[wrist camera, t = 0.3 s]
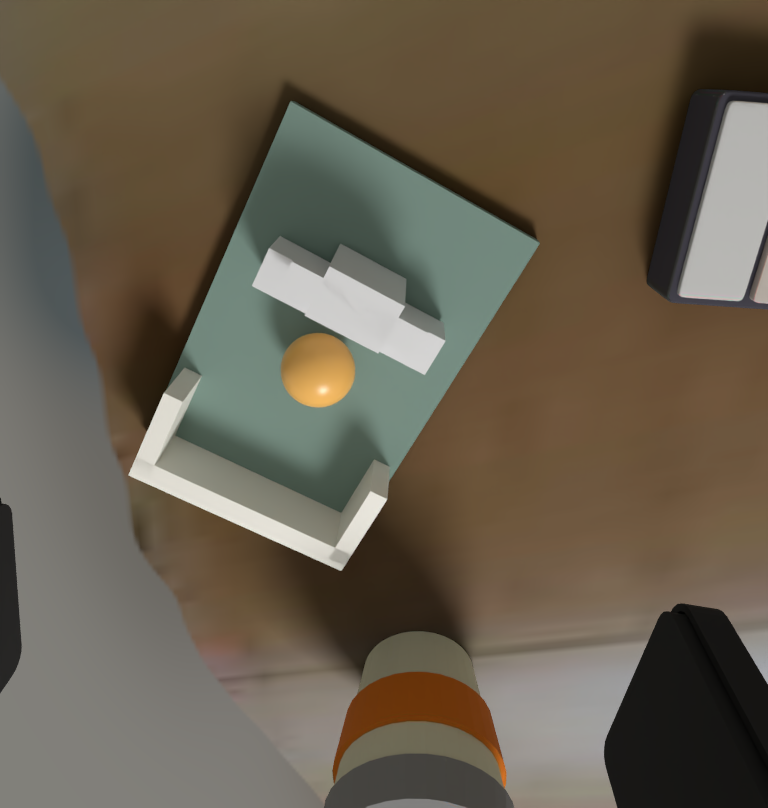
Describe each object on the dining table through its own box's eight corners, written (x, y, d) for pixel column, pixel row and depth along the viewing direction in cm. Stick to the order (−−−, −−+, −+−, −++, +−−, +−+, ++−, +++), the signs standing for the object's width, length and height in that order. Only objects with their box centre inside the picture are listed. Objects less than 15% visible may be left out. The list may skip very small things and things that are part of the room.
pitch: (293, 100, 38) (290, 101, 37) (537, 239, 40) (539, 243, 40) (149, 434, 47) (144, 441, 46) (354, 529, 50) (353, 538, 49)
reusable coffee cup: (470, 597, 52) (489, 777, 39) (513, 709, 57) (543, 905, 43) (319, 634, 54) (286, 816, 41) (372, 739, 59) (359, 934, 46)
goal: (184, 367, 44) (163, 392, 40) (389, 466, 46) (387, 499, 43) (151, 444, 46) (128, 475, 43) (346, 535, 49) (341, 571, 45)
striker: (289, 215, 39) (270, 235, 34) (454, 304, 41) (459, 335, 36) (263, 271, 41) (242, 297, 36) (424, 355, 43) (425, 391, 38)
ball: (305, 310, 42) (293, 334, 38) (370, 343, 43) (365, 371, 39) (275, 369, 44) (261, 398, 40) (338, 400, 44) (330, 432, 40)
